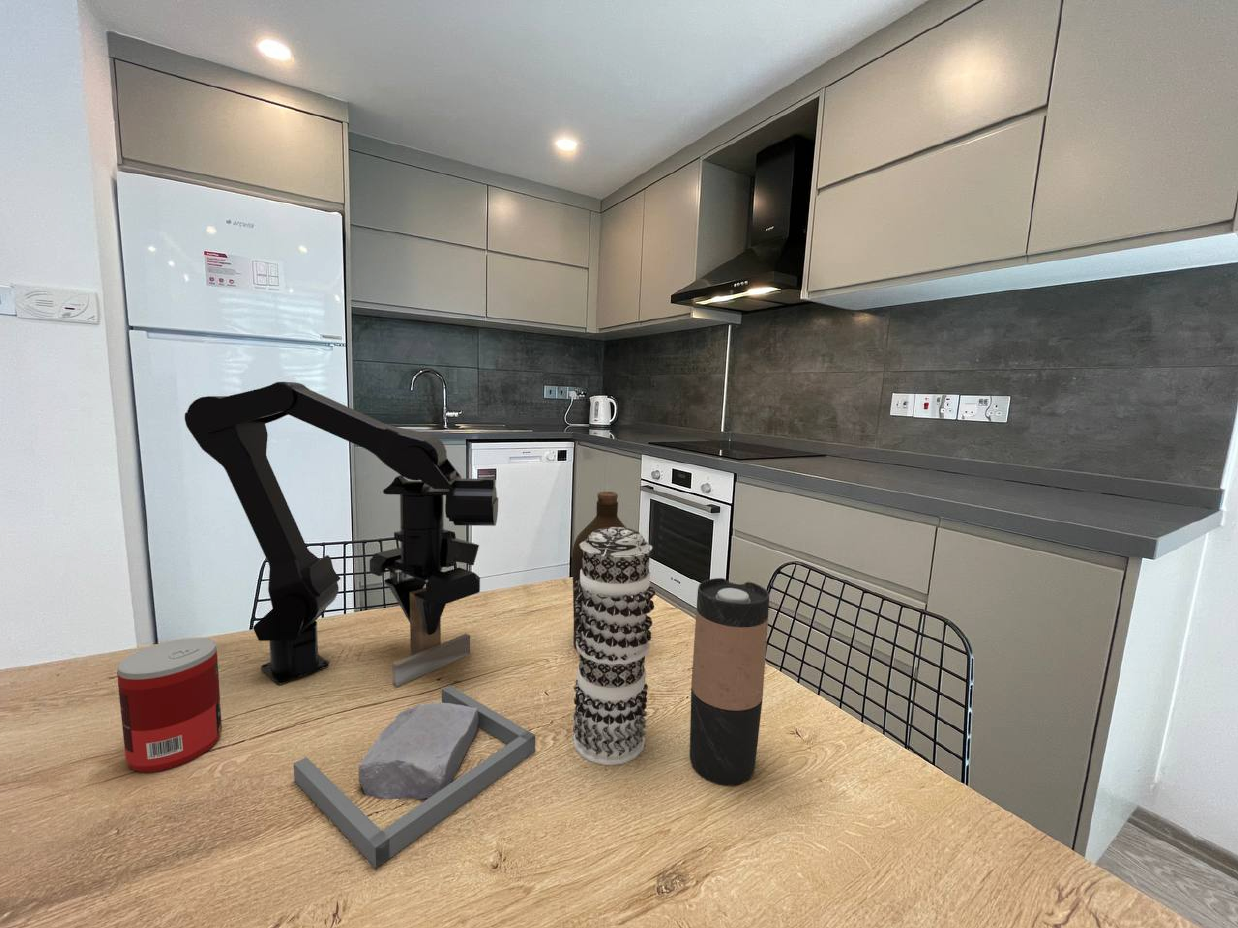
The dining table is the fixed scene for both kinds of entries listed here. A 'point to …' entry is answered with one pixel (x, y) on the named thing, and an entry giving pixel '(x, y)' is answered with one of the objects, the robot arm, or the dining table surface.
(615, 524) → the olive oil
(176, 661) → the canned food
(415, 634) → the block
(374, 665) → the dining table surface
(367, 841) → the frame
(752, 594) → the travel mug
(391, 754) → the stone block
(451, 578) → the robot arm
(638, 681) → the decorative candle
